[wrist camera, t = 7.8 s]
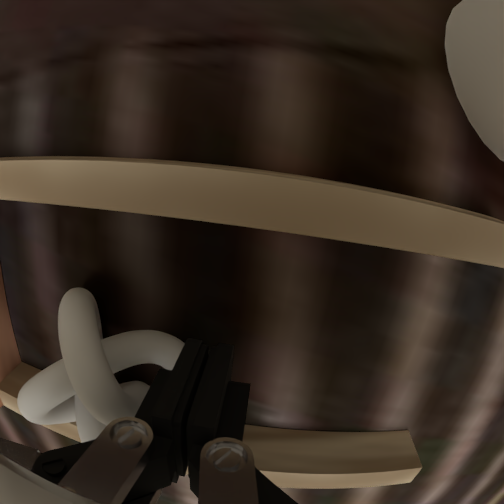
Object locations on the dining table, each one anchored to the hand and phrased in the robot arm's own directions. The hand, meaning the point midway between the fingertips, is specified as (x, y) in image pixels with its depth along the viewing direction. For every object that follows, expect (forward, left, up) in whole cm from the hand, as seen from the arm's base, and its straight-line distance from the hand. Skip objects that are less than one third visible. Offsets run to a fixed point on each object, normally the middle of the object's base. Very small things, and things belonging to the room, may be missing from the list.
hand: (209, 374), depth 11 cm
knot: (+1, -4, -3) cm, 5 cm away
